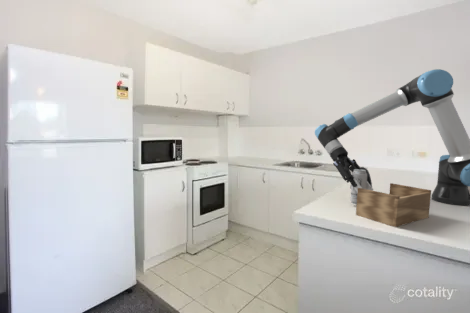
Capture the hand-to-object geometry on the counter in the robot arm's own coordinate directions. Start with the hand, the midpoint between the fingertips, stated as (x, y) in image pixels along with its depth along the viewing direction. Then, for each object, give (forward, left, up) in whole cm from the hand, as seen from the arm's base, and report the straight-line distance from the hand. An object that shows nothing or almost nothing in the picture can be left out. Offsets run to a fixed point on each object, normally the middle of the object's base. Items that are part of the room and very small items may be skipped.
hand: (366, 191), depth 110 cm
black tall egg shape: (-5, -24, -7) cm, 26 cm away
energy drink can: (+2, -3, -6) cm, 7 cm away
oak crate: (-7, +9, -7) cm, 14 cm away
